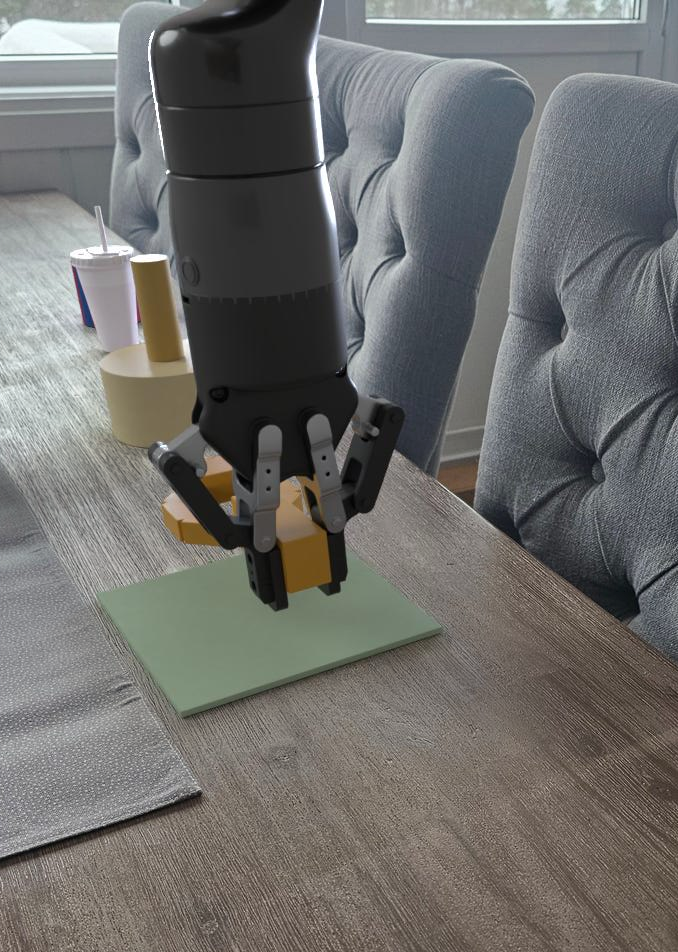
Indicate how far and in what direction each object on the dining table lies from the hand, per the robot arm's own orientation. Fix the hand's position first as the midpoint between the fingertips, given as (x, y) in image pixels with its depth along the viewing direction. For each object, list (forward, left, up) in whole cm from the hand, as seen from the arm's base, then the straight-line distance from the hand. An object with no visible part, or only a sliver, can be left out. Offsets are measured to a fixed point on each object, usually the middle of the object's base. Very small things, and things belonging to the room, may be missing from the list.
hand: (301, 595), depth 62 cm
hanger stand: (+7, +43, -4) cm, 43 cm away
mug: (+13, +83, -4) cm, 84 cm away
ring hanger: (0, +7, +1) cm, 7 cm away
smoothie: (+10, +70, -4) cm, 70 cm away
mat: (0, +7, -4) cm, 8 cm away
